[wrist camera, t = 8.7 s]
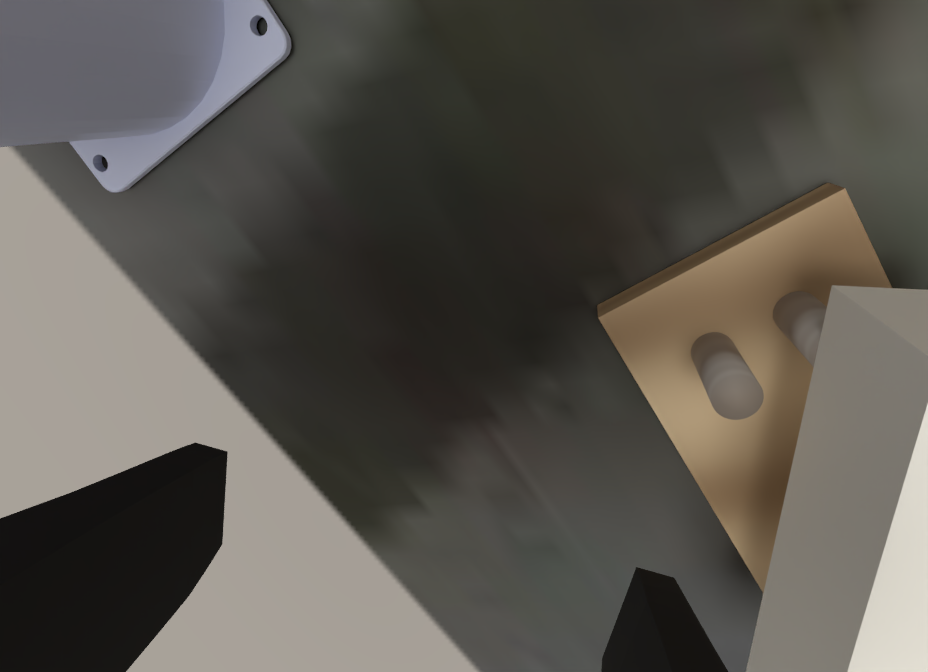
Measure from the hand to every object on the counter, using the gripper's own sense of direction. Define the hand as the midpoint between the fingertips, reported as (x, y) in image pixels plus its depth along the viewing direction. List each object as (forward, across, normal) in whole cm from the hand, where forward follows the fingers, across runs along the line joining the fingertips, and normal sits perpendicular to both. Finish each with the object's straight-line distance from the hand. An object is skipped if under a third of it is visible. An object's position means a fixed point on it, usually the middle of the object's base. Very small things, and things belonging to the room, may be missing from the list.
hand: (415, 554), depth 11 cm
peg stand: (+11, -10, +1) cm, 15 cm away
